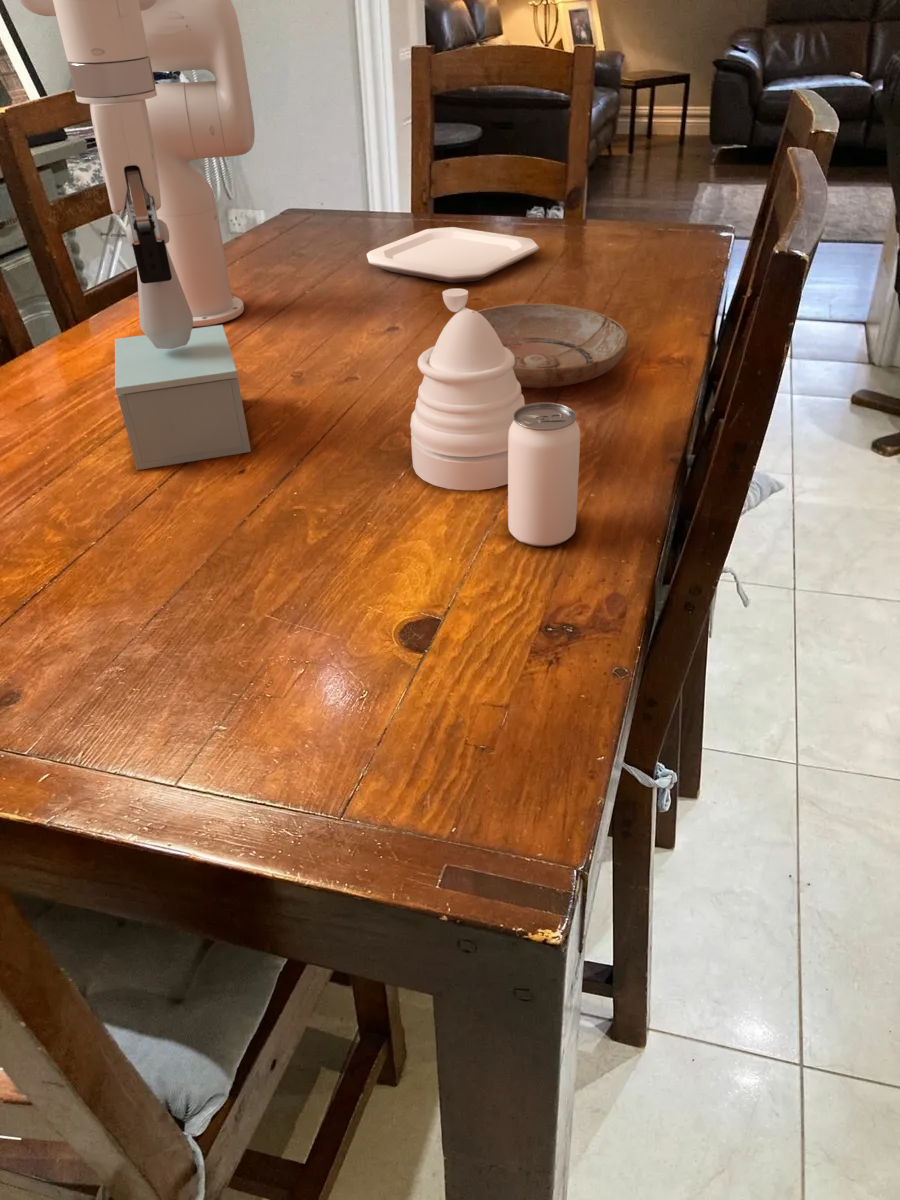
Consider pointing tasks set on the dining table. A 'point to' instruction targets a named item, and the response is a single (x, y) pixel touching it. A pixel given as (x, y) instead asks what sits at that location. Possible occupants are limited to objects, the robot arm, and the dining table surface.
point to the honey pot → (464, 403)
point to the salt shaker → (163, 305)
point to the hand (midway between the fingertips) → (155, 272)
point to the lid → (173, 361)
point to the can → (543, 474)
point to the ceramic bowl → (557, 342)
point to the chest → (185, 423)
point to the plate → (452, 254)
